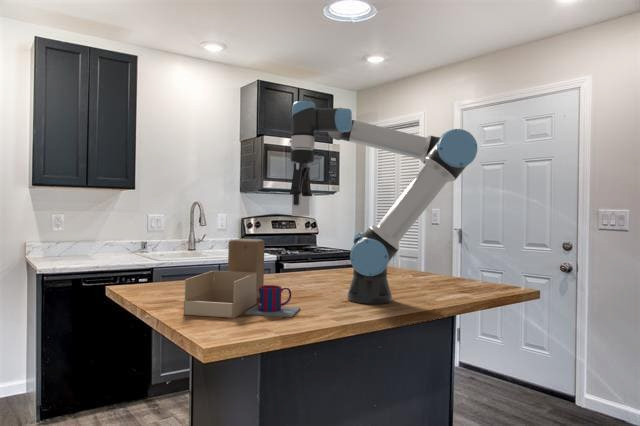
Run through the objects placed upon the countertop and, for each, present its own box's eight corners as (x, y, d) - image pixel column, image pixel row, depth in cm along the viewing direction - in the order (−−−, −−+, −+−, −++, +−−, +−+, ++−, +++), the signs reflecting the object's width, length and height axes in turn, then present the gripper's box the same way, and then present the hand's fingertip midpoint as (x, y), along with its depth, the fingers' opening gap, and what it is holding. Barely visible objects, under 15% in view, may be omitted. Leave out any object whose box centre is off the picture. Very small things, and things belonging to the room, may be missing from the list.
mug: (256, 307, 141) (257, 285, 141) (288, 306, 144) (289, 284, 144) (260, 312, 134) (260, 289, 134) (293, 311, 137) (294, 288, 137)
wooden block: (254, 301, 154) (255, 241, 154) (226, 299, 156) (227, 240, 156) (264, 296, 164) (265, 239, 164) (237, 294, 166) (238, 238, 166)
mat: (300, 309, 143) (300, 307, 143) (292, 317, 132) (292, 315, 132) (256, 306, 145) (256, 304, 145) (244, 314, 134) (244, 312, 134)
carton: (256, 303, 150) (257, 272, 150) (233, 318, 129) (234, 282, 129) (212, 300, 153) (213, 270, 153) (183, 314, 132) (183, 279, 132)
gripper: (299, 154, 163) (297, 215, 163) (281, 144, 139) (280, 215, 139) (320, 155, 162) (318, 215, 162) (306, 144, 137) (304, 216, 138)
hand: (300, 215), depth 150 cm, fingers open, 13 cm apart
